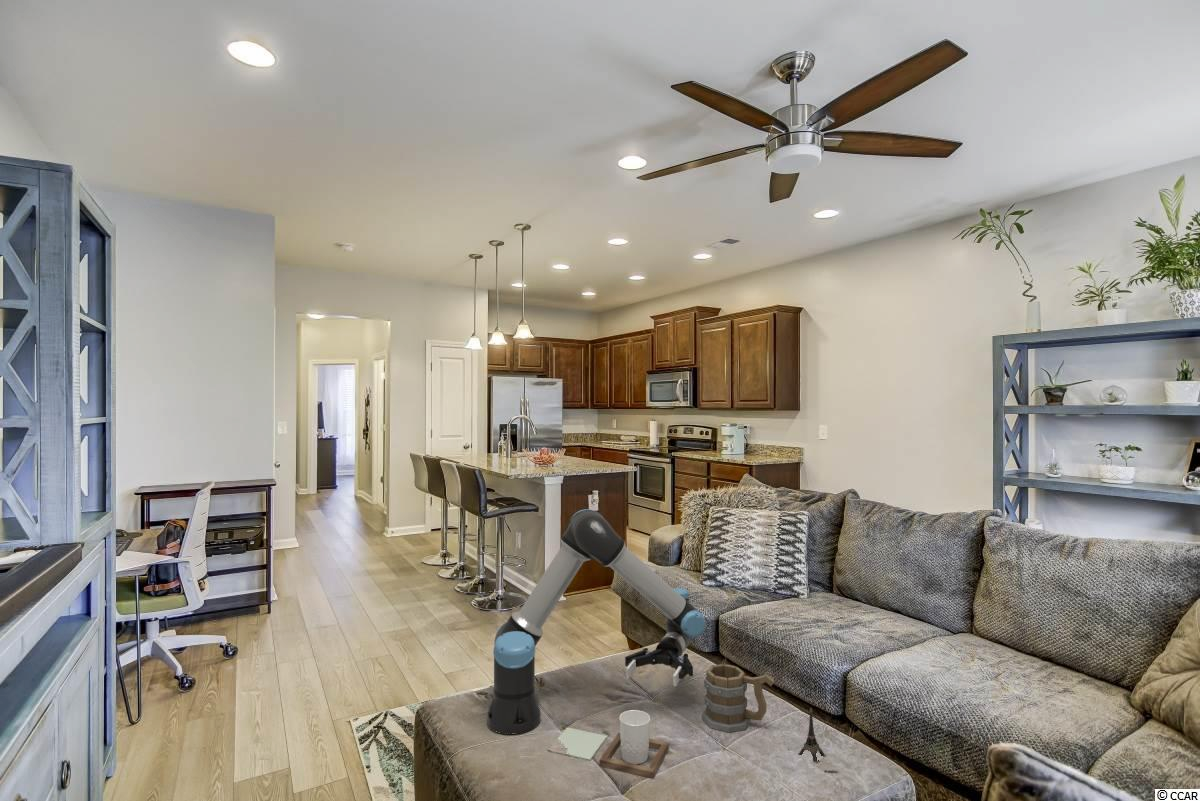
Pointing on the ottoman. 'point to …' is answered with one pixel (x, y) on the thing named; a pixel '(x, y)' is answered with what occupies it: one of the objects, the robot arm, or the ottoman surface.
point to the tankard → (731, 698)
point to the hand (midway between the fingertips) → (650, 677)
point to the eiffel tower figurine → (812, 743)
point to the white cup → (634, 736)
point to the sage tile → (581, 743)
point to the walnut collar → (629, 767)
